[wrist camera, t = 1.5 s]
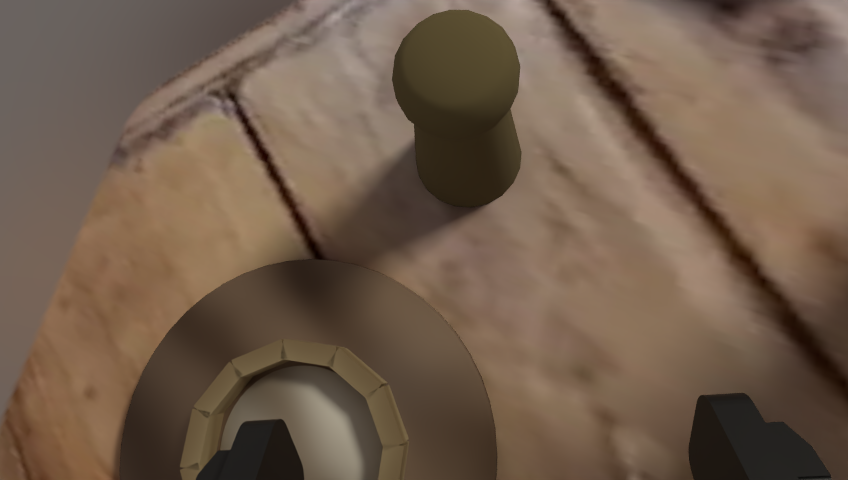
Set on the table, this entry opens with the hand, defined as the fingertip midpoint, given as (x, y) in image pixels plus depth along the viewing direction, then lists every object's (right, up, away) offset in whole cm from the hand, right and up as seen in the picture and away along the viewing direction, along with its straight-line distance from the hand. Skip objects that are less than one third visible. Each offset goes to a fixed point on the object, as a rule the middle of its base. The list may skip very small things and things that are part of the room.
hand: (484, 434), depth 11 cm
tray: (-7, -7, +18) cm, 21 cm away
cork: (+1, +9, +21) cm, 23 cm away
